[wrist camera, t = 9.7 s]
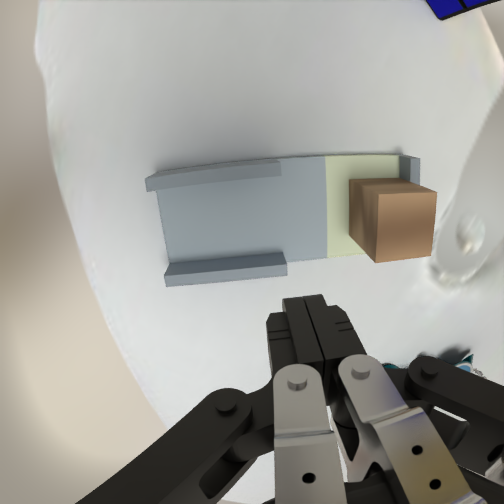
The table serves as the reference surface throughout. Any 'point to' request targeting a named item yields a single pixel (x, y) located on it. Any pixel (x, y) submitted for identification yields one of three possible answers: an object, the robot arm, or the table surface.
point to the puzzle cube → (455, 6)
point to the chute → (262, 213)
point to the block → (391, 218)
